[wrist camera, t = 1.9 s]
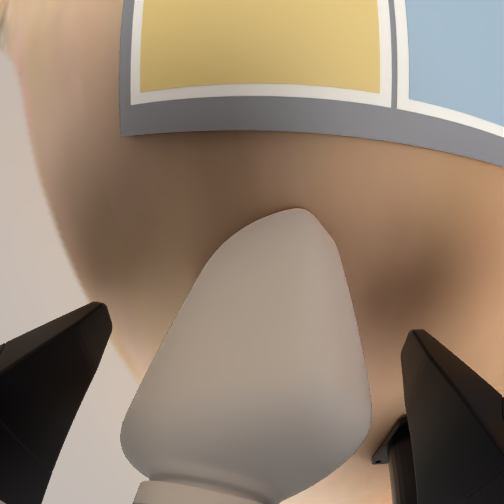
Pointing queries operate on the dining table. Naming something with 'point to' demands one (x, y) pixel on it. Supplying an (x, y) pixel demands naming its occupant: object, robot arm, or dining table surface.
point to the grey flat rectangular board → (318, 70)
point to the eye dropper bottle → (254, 374)
